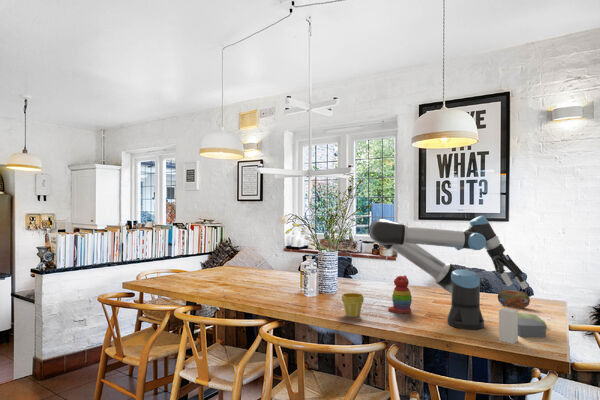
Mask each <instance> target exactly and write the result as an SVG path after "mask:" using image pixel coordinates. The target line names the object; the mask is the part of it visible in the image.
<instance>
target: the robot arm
mask: <svg viewBox="0 0 600 400" xmlns="http://www.w3.org/2000/svg"><path fill="white" fill-rule="evenodd" d="M368 235H369V238H371V240H372V241H374V242H376V243H377V244H379V245H381V246H382V247H383V248H385V249H386V250H388V251H389V250H393V251H395V252H396V253H397V254H399V255H400V256H401V257H403V258H404V259H406V260H407V261H409V262H411V264H413V265H415V266H417V267H418V268H419V269H420V270H422V271H423V272H425V273H427V274H428V275H429V276H431V277H432V278H433V282H434V283H436V284H437V285H439V287H441V288H443V289H444V290H445V291H446V292H448V293H450V295H451V296H450V297H451V298H450V299H451V304H450V305H451V306H450V309H449V312H448V315H447V317H446V318H447V324H448V325H449V326H451V327H454V328H459V329H465V330H481V329H483V328H485V320H484V317H483V314H482V311H481V305H480V300H481V299H480V295H481V294H480V293H481V289H480V288H481V286H480V284H481V280H480V275H479V274H478V273H477V272H476V271H473V270H469V269H463V268H462V269H459V268H458V267H456V266H454V265H453V264H452V263H450V262H444V261H442V260H440V259H438V258H437V257H436V256H434V255H433V254H432V253H431V252H429V251H427V250H426V249H425V248H423V247H421V246H420V245H422V246H423V245H424V246H425V245H427V246H436V247H437V246H438V247H446V248H455V250H456V251H461V250H463V249H467V250H473V251H481V250H483V249H485V250H486V252H487V255H488V256H489V257H490V259H491V261H492V263H493V266H494V270H495V272H496V273H497V274H499V275H500V276H501V278H502V280H503V282H504V283H505V285H506V286H507V287H510V286H512V285H513V282H512V280H511V278H510V276H509V275H508V272H507V271H506V269H508V270H509V272H511V273H512V274H513V276H514V278H515V279H516V282H517V283H518V285H519V286H520V288H521V290H525V289H526V288H528V287H529V285H528V283H527V282H526V280H525V278H523V276H522V273H523V270H521V269H520V267H519V266H518V265H517V264H516V263H515V261H513V259H512V258H511V257H510V255H509V254H506V255H505V254H504V252H505V251H506V249H505V247H504V245H503V244H502V243H501V241H500V239H499V236H497V234H496V232H495V231H494V229H493V227H492V226H491V224H490V222H489V221H488V219H487V218H486V216H485V215H479V216H476V217H475V218H473V219H471V220H470V221H469V226H468V227H466V228H464V229H462V230H461V231H460V230H453V229H452V230H450V229H441V228H429V227H420V226H419V227H418V226H407V225H406V223H400V222H395V221H391V220H389V219H386V218H377V219H374V220H373V221H372V222H371V223H370V225H369V227H368ZM504 267H505V268H506V269H505V268H504Z"/></svg>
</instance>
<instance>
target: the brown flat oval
mask: <svg viewBox="0 0 600 400" xmlns="http://www.w3.org/2000/svg"><path fill="white" fill-rule="evenodd" d="M497 299H498V302H499V303H500V304H501V305H503V306H505V307H511V308H518V309H525V308H527V307H528V306H529V305H530V303H531V299H530V296H529V295H528V294H527V293H526V292H525V291H518V290H511V289H502V290H500V291H499V292H498V294H497Z"/></svg>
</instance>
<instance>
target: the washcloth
mask: <svg viewBox="0 0 600 400" xmlns="http://www.w3.org/2000/svg"><path fill="white" fill-rule="evenodd" d="M518 318H520V319H534V320H536V321H538V322H540V323H542V324H543V325H545V326H546V327H547V324H546V322H545V321H544V319H542V318H541V317H539V315H537V314H533V313H527V312H518Z"/></svg>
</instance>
